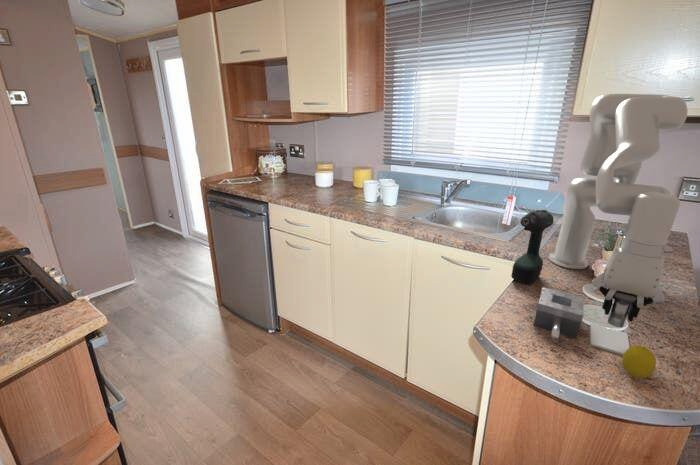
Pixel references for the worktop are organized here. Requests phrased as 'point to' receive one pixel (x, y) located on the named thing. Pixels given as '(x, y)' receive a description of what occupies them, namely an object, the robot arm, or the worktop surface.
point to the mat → (608, 339)
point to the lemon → (639, 361)
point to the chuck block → (559, 313)
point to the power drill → (532, 247)
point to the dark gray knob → (621, 308)
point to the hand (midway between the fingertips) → (618, 314)
